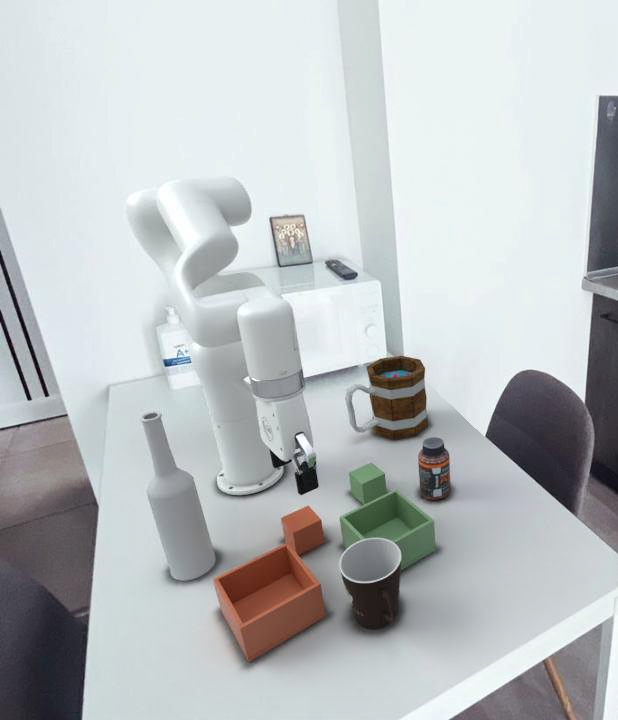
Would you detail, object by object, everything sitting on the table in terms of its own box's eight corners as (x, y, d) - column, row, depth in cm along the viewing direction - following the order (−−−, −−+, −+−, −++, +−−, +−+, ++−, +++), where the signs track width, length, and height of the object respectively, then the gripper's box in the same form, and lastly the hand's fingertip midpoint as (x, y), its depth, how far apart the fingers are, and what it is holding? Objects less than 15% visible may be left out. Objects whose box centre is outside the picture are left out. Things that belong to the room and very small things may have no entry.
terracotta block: (285, 540, 94) (280, 517, 92) (312, 527, 97) (308, 505, 95) (297, 556, 90) (292, 533, 88) (325, 542, 93) (321, 519, 91)
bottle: (217, 546, 93) (179, 401, 81) (214, 574, 87) (172, 422, 76) (173, 556, 91) (128, 409, 79) (168, 585, 85) (118, 431, 74)
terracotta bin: (221, 610, 80) (212, 578, 78) (293, 572, 87) (287, 541, 85) (248, 662, 73) (240, 628, 70) (326, 616, 79) (320, 583, 77)
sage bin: (343, 546, 92) (339, 516, 90) (398, 517, 99) (396, 488, 97) (378, 584, 85) (374, 553, 82) (435, 550, 91) (434, 520, 89)
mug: (408, 405, 138) (404, 351, 132) (440, 426, 128) (437, 368, 122) (337, 432, 126) (329, 374, 120) (366, 457, 117) (360, 395, 111)
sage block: (351, 493, 106) (348, 472, 104) (373, 483, 109) (371, 462, 107) (364, 506, 102) (361, 484, 100) (387, 494, 105) (385, 473, 103)
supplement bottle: (446, 503, 103) (444, 452, 98) (416, 499, 104) (412, 449, 99) (454, 484, 108) (452, 435, 103) (425, 481, 109) (422, 432, 104)
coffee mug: (350, 590, 84) (343, 539, 80) (406, 586, 84) (402, 535, 80) (339, 658, 73) (330, 603, 69) (403, 653, 74) (398, 598, 70)
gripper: (232, 371, 85) (252, 464, 92) (276, 409, 73) (296, 513, 80) (278, 358, 89) (294, 447, 96) (328, 392, 77) (342, 491, 84)
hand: (295, 477), depth 88 cm, fingers open, 9 cm apart
